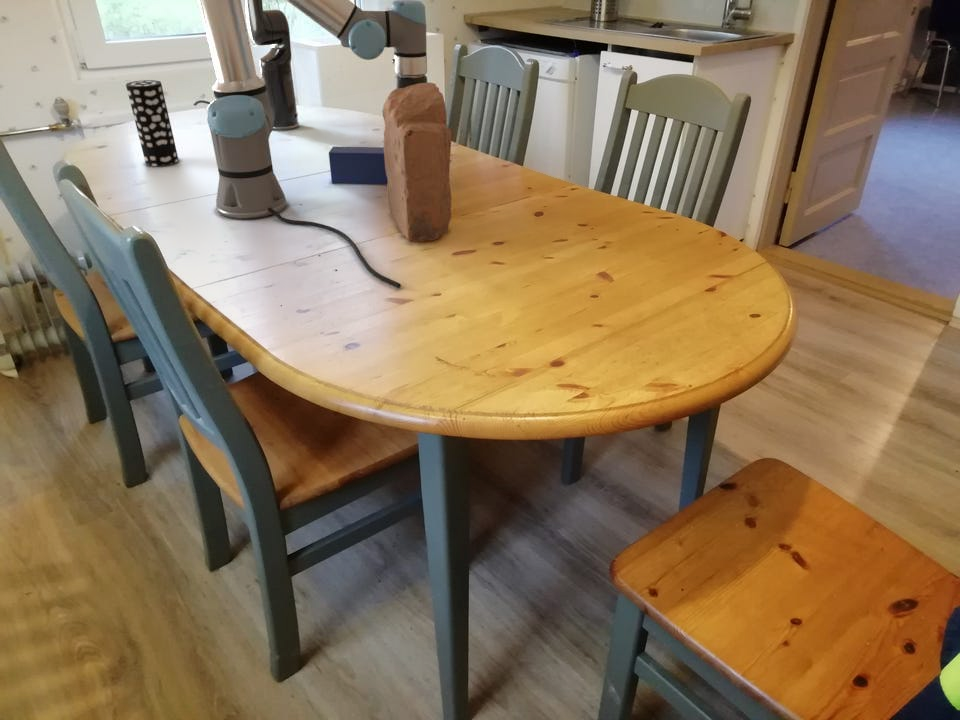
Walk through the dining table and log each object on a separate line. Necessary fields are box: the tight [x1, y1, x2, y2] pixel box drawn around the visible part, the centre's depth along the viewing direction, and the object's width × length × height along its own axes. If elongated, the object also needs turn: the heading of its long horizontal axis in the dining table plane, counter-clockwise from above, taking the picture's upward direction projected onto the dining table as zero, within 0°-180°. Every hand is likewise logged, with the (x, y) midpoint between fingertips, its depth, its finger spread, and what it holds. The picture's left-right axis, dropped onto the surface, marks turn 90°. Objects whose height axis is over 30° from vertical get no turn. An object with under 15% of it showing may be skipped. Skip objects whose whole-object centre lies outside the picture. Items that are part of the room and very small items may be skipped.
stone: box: [381, 82, 452, 243], centre depth 143 cm, size 22×11×28 cm, turn 18°
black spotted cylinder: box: [125, 79, 179, 167], centre depth 181 cm, size 8×8×20 cm
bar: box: [328, 146, 388, 186], centre depth 173 cm, size 25×5×8 cm, turn 89°
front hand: (413, 165), depth 173 cm, fingers open, 13 cm apart
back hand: (332, 25), depth 186 cm, fingers open, 8 cm apart
